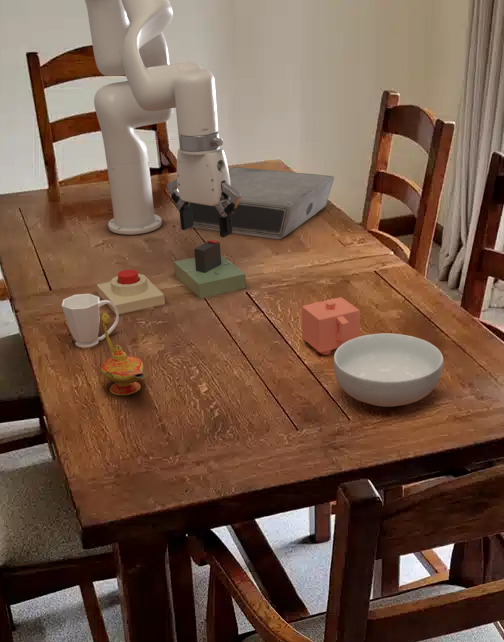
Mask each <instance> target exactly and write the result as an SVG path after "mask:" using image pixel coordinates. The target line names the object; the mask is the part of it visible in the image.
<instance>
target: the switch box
mask: <svg viewBox="0 0 504 642" xmlns="http://www.w3.org/2000/svg"><path fill="white" fill-rule="evenodd" d="M138 277H139V281H138V282H136V283H133V284H120V283H119V282H118V275H117V276H114V277H112V278H111V280H110V281H108V282H102V283H98V284H96V289H97V294H98V296H99V297H100V298H101V299H102V301H103V300H108V301H110V302H112V303H113V304H114V305H115V306H116V308H117V311H118V314H119V315H122V314H126V313H130V312H131V313H132V312H134V311H141V310H144V309H149V308H153V307H157V306H158V307H159V306H161V305H165V304H166V300H165V294H164V293H163V292H162V291H161V290H160V289H159V288H158V287H157V286H156V285H155V284H154V283H153V282H151V280H150V279H149V278H148V277H147V276H146V275H144V274H142V273H138ZM106 305H107V306H108V308H110V309H111V310H112V312H113V313H114V314H115V315H116V312H115V309H114V307H113V306H112V305H111V304H109V303H107V304H106Z"/></svg>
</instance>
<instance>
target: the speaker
mask: <svg viewBox="0 0 504 642" xmlns="http://www.w3.org/2000/svg"><path fill="white" fill-rule="evenodd" d="M228 171H229V177H230V185H231V187H233V188H234V189H235V190H236V191H238V192H239V193H240V194H241V199H240V201H239V203H238V207H237V208H236V210H235V211H234V213H233V214H231V215H232V234H237V235H244V236H252V237H258V238H265V239H273V240H281V239H283V238H284V237H286V236H287V235H289V234H291V233H292V232H293V231H294V230H296V229H297V228H298V227H300V226H301V225H303V224H304V223H306V222H307V221H308V220H309V219H311V218H313V216H315V215H317V214H318V213H320V211H321V210H323V209H324V208H325V207H326V205H327V204H328V201H329V197H330V193H331V191H332V187H333V184H334V181H335V176H333V175H328V174H327V175H326V174H316V173H306V172H305V173H304V172H297V171H296V172H295V171H285V170H284V171H283V170H273V169H264V168H263V169H262V168H251V167H241V166H233V167H231V168H228ZM228 201H229V203H230V201H231V199H230V200H228ZM189 206H191V207H192V214H193V226H192V227H191V229H192V228H193V229H201V230H208V231H214V232H220V229H219V217H221V215H220V213H219V212H218V210H217V209H216V207H215V206H208V205H202V204H196V203H190V204H189ZM222 206H223V204H222ZM223 207H224V206H223ZM224 209H225V207H224Z"/></svg>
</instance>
